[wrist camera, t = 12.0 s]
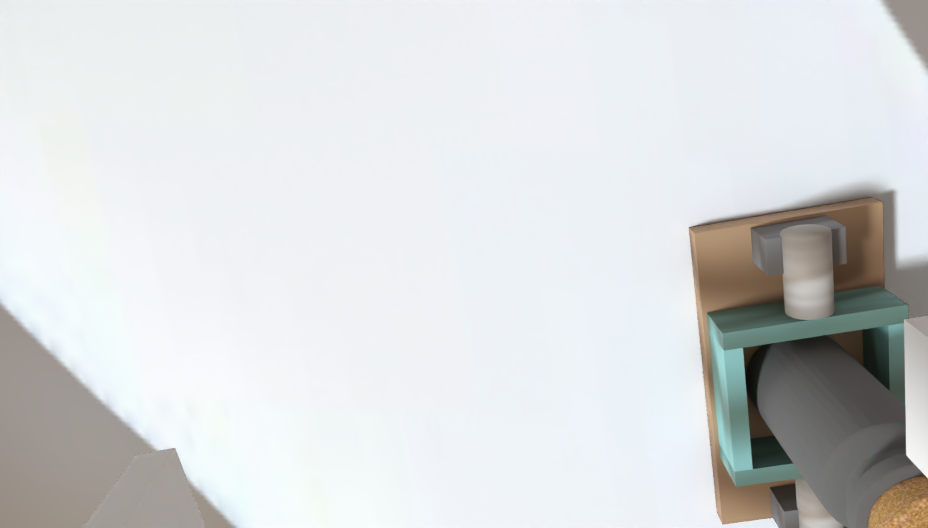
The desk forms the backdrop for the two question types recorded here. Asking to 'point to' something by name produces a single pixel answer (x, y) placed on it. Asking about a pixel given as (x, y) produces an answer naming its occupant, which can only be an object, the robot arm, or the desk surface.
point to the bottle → (839, 432)
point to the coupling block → (786, 336)
